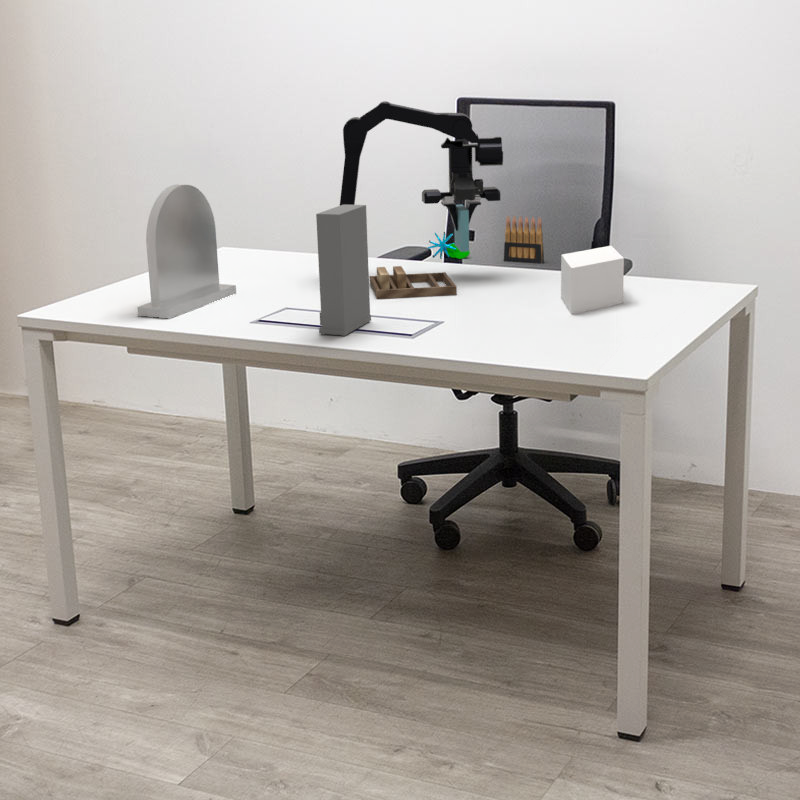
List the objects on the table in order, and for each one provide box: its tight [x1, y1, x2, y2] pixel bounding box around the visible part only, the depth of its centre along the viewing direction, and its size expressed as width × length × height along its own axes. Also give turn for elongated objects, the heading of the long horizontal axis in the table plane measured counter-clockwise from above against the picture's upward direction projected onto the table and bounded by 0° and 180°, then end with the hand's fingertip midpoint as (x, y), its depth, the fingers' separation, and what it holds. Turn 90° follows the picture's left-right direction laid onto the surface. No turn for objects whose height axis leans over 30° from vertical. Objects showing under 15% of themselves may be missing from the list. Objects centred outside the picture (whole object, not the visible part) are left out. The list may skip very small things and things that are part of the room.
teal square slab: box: [453, 204, 470, 252], centre depth 307 cm, size 2×10×10 cm, turn 6°
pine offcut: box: [376, 266, 390, 290], centre depth 297 cm, size 2×10×5 cm, turn 6°
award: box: [136, 184, 237, 320], centre depth 285 cm, size 28×9×28 cm, turn 155°
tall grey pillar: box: [315, 204, 372, 337], centre depth 259 cm, size 14×6×25 cm, turn 159°
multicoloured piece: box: [427, 231, 471, 260], centre depth 338 cm, size 12×7×8 cm
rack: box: [369, 271, 458, 300], centre depth 298 cm, size 19×18×2 cm
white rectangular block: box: [560, 245, 625, 315], centre depth 280 cm, size 14×29×10 cm, turn 154°
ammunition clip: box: [503, 215, 545, 265], centre depth 326 cm, size 11×2×12 cm, turn 62°
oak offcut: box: [392, 265, 407, 289], centre depth 297 cm, size 2×10×5 cm, turn 7°
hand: (461, 230), depth 308 cm, fingers closed on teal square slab, 2 cm apart
